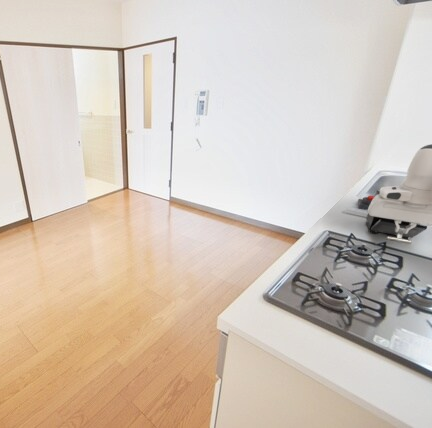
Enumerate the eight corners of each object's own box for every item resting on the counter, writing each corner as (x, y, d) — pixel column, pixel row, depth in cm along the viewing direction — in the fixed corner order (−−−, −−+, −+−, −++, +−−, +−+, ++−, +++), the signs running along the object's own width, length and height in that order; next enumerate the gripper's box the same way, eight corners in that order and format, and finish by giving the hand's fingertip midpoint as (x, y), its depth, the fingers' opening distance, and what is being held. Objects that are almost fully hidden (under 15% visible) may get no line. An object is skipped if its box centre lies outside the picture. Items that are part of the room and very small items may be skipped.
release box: (378, 206, 132) (382, 198, 130) (381, 212, 126) (384, 204, 124) (357, 202, 136) (359, 195, 134) (358, 208, 130) (361, 200, 128)
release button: (375, 199, 130) (376, 196, 129) (376, 202, 127) (377, 198, 126) (366, 198, 131) (367, 195, 131) (367, 200, 129) (368, 197, 128)
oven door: (409, 252, 101) (424, 245, 91) (367, 244, 107) (377, 236, 98) (412, 235, 102) (427, 226, 92) (370, 227, 108) (380, 218, 99)
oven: (409, 241, 103) (425, 206, 98) (367, 233, 110) (380, 200, 104) (403, 228, 112) (418, 195, 106) (365, 221, 119) (376, 190, 113)
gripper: (462, 197, 86) (442, 235, 92) (374, 186, 97) (361, 222, 103) (469, 204, 81) (447, 244, 87) (377, 192, 92) (363, 228, 98)
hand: (400, 232), depth 95 cm, fingers closed, pressing on oven door
